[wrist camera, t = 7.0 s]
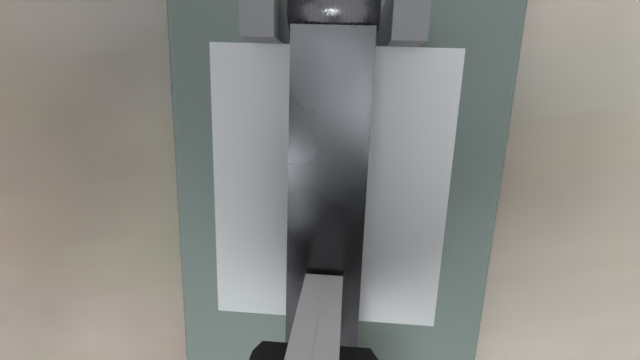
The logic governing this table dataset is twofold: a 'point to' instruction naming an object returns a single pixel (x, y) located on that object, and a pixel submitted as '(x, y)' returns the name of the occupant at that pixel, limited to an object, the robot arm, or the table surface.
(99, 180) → the table surface
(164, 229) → the table surface
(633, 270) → the table surface
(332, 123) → the strap
